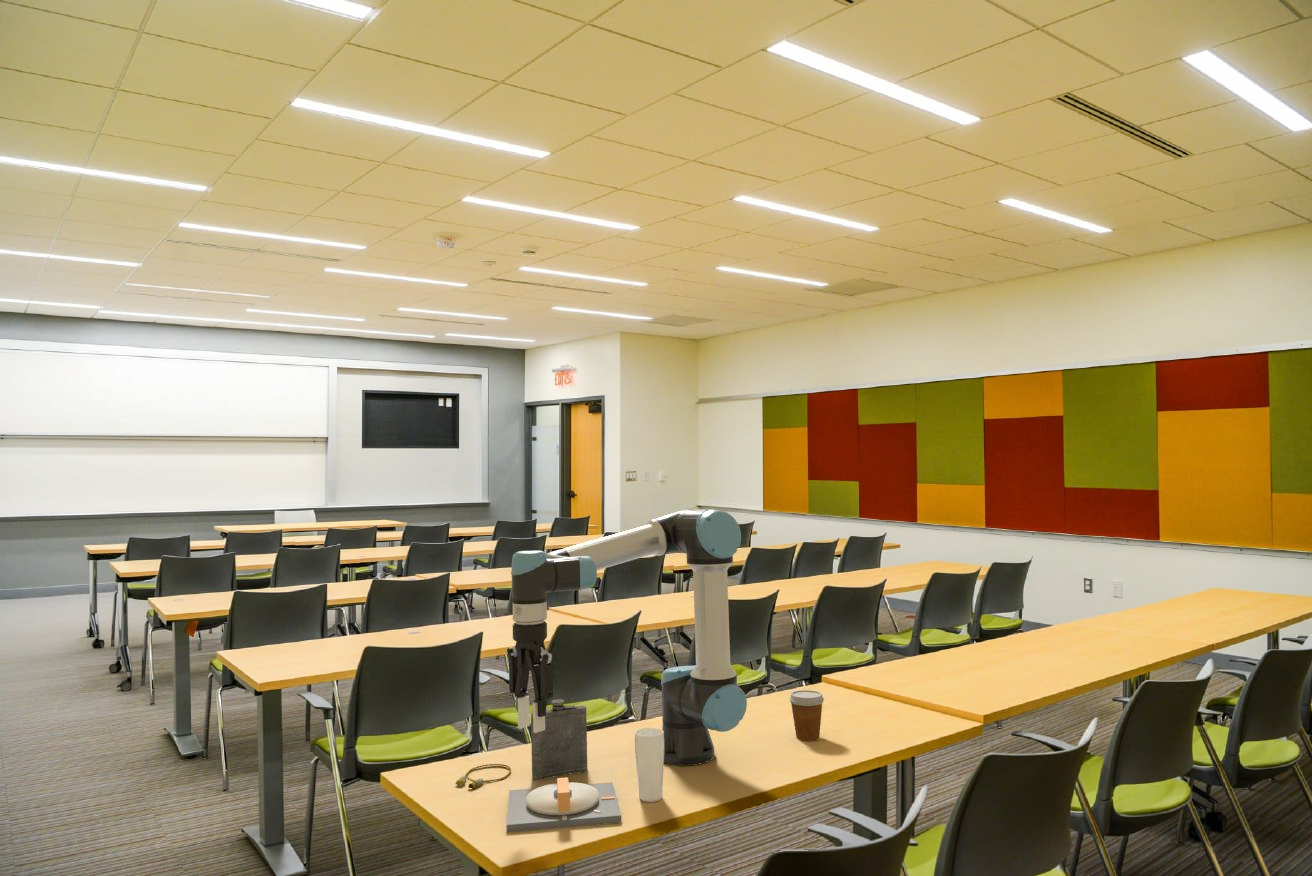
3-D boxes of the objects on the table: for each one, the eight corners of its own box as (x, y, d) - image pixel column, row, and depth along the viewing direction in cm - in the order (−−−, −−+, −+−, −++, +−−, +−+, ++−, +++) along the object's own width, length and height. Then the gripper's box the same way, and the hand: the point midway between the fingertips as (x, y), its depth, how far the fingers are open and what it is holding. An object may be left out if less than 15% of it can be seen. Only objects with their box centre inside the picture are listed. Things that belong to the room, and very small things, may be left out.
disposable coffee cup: (789, 742, 230) (787, 697, 230) (791, 731, 239) (790, 689, 240) (824, 744, 227) (823, 699, 228) (825, 733, 237) (824, 690, 237)
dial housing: (612, 788, 198) (612, 781, 198) (621, 822, 178) (621, 814, 178) (509, 796, 195) (509, 789, 195) (506, 832, 175) (506, 824, 175)
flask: (529, 776, 208) (528, 702, 209) (584, 766, 214) (582, 695, 215) (534, 781, 204) (532, 706, 205) (589, 771, 211) (587, 698, 212)
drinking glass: (629, 799, 191) (628, 732, 192) (651, 791, 196) (649, 725, 197) (650, 806, 187) (648, 738, 187) (671, 798, 191) (670, 731, 192)
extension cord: (441, 781, 207) (441, 773, 207) (496, 765, 218) (496, 757, 218) (467, 794, 198) (467, 785, 198) (523, 776, 209) (523, 768, 209)
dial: (526, 790, 193) (526, 767, 194) (596, 785, 196) (595, 762, 196) (526, 821, 176) (525, 795, 176) (602, 814, 178) (601, 789, 179)
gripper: (491, 620, 188) (492, 726, 187) (542, 628, 177) (544, 740, 175) (517, 615, 194) (519, 718, 193) (569, 622, 182) (571, 732, 181)
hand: (531, 728), depth 184 cm, fingers open, 4 cm apart
